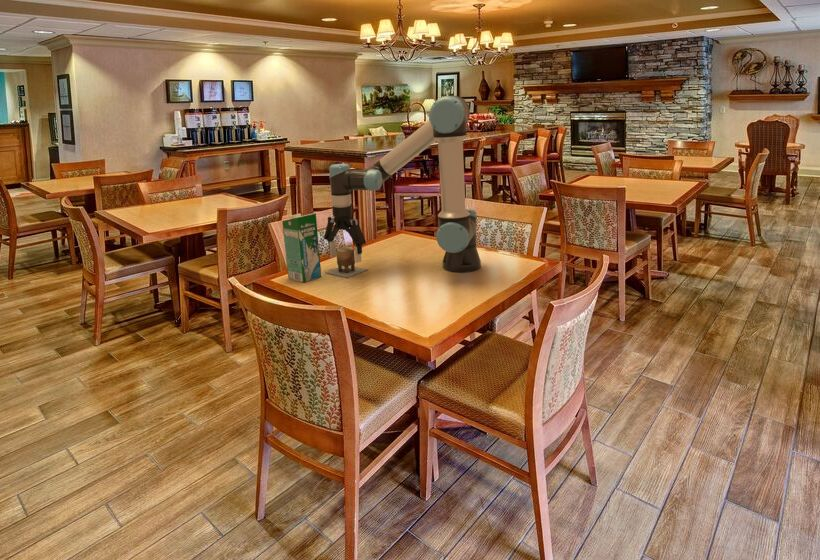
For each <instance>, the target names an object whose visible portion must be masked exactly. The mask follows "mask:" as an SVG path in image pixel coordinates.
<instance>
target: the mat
mask: <svg viewBox="0 0 820 560" xmlns="http://www.w3.org/2000/svg"><path fill="white" fill-rule="evenodd" d="M348 267H349V273H345V267H344V266H342V272H339V271H338V267H335V268H334V269H331V270H328V271H325V272H324V274H325V273H326V275H330V274H331V275H332V276H335V277H340V278H344V277H345V278H346V279H349V277H350V278H351V277H355V276H357V275H360V274H362V273H364V271H365V272H366V271H367V272H368V270H369V268H364V267H359V266H355V270H354V271H351V265H350V266H348ZM359 273H360V274H359ZM345 278H344V279H345Z"/></svg>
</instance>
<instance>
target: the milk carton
mask: <svg viewBox="0 0 820 560" xmlns="http://www.w3.org/2000/svg"><path fill="white" fill-rule="evenodd" d="M281 222H282V231H283V240H284V249H285V251H284V252H285V260H286V269H287V277H288V278H289V279H288V280H291V279H292V281H295V282H299V283H307V282H310V281H313V280H315V279H319V278H321V277H322V268H321V257H320V245H319V236H318V235H319V233H318V222H317V213H311V214H307V215H302V214H301V213H297V214H291V215H290V218H289V219H285V220H282V221H281Z"/></svg>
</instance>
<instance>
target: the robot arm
mask: <svg viewBox="0 0 820 560" xmlns="http://www.w3.org/2000/svg"><path fill="white" fill-rule="evenodd" d="M470 115H471V111H470V106H469V104H468V102H467V101H466V100H465V99H464V98H463V97H461V96H458V95H444V96H441V97H439V98H437V99H436V100H435V101H434V102H433V104H432V105H431V107H430V109H429V113H428V117H429V118H428V119H429V120H427V122H425V123H424V124H423V125H422V126H420V127H419V128H418V129H416V130H415V131H414V132H413V133H411V134H410V135H409V136H407V137H406V138H405V139H404V140H402V141H401V142H400V143H399V144H397V145H396V146H395V147H394V148H392V149H391V150H390V151H389V152H388V153H386V154H385V155H384V156H382V157H381V158H380V159H378V160H377V161H375V163H373V164H372V165H371V166H369V167H367V168H363V169H352V168H351V169H350V165H349V164H348V163H336V164H335V163H334V164H331V165H330V166H329V184H330V194H331V195H330V196H331V205H332V207H331V209H332V210H331V211H332V212H331V213H332V215H331V216H328V217H327V225H326V228H325V231H324V236H323V239H324V240H325V241H327V242H328V249H329V254H330V258H331V259H333V258H337V254H336V250H337V245H336V240H335V238H336V236H337V235H338V232H339V231H340V230H343V231H346V232H347V233H348V235H349V236H350V238H351V240H352V241H353V242H354V244H355V245H354V254H355V264H358V263H360V262H362V254H363V245H365V244H367V242H366V239H365V236H364V234H363V231H362V228H361V225H360V222H359V221H360V220H359V219H357V218H356V219H353V218H352V215H353V207H352V191H378V190H381V188H382V185H383V184H384V183H385V182H386V181H387V180H388V179H389V178H390V177H391V176H392V175H393V174H395V173H396V172H397V171H399V170H400V169H402V168H403V167H404V166H406V164H408V163H409V162H410V161H412V160H413V159H414V158H416V157H417V156H418V155H420V154H421V153H422V152H423V151H425V150H426V149H427V148H429V147H431V145H433V144H434V143H435V142H437V145H438V146H437V149H438V162H439V163H438V166H439V181H440V182H439V183H440V184H439V186H440V201H441V211H440V212H439V213H438V214H437V222H438V228H437V230H436V237H435V238H436V242H437V245H438V246H439V247H440V248H441V249H442V250H444V251H445V252H444V256H443V260H442V268H443V269H444V270H446V271H448V272H456V273H466V272H467V273H468V272H474V271H477V270H479V269H481V268H482V267H481V266H482V261H481V258H480V255H479V252H478V251H479V250H478V248H477V219H478V217H477V211H476V210H475V209H472V208H471V209H470V208H468V209H467V208H466V190H465V187H466V186H465V168H464V165H465V163H464V161H465V160H464V140H465V139H466V138H467V137H468V135H467V133H468V132H467V129H468V128H467V123H468V121H469V119H470Z"/></svg>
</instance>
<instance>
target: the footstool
mask: <svg viewBox="0 0 820 560" xmlns="http://www.w3.org/2000/svg"><path fill="white" fill-rule="evenodd" d="M336 255H337V257H336V265H337V268H338V271H339V272H342V266H344V267H345V273H349V267H348V266H351V271H354V270H355V267H356V266H355V264H356V262H355V248H353V247H351V246H342V247H338V248H336Z"/></svg>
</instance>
